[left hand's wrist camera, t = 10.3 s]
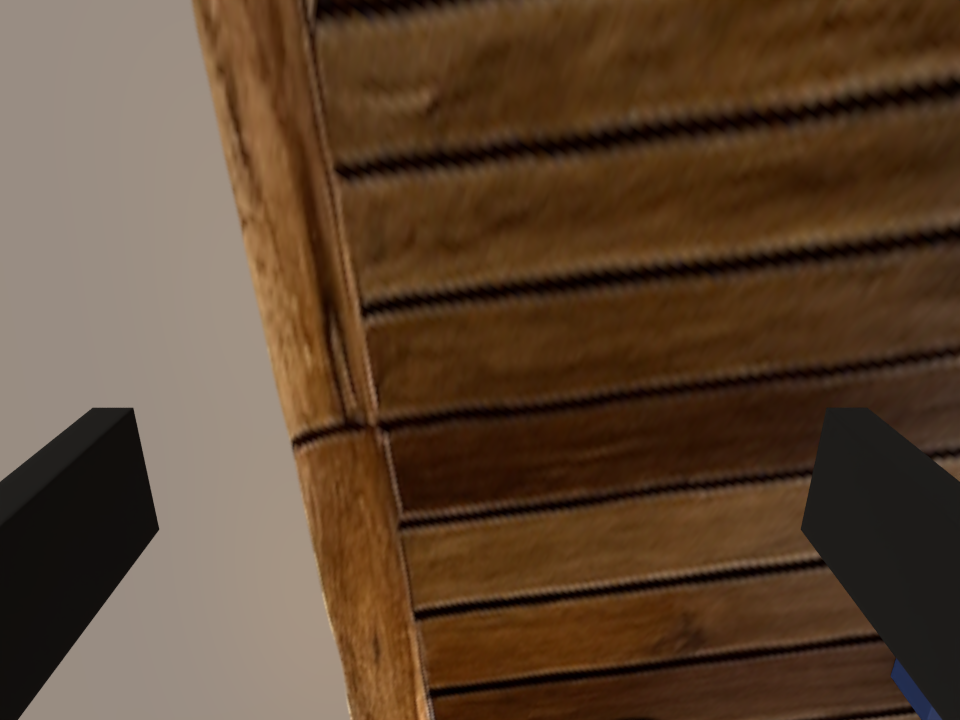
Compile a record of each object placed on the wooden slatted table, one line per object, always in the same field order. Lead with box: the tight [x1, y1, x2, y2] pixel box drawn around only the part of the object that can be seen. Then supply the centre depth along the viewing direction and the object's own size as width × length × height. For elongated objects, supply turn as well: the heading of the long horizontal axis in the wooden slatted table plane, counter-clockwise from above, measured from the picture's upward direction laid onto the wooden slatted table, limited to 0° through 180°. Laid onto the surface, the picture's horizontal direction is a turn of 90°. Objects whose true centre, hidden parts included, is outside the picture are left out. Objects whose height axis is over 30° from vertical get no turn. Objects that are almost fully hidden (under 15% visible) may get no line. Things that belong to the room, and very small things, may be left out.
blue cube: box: [891, 658, 942, 720], centre depth 52 cm, size 5×5×5 cm
